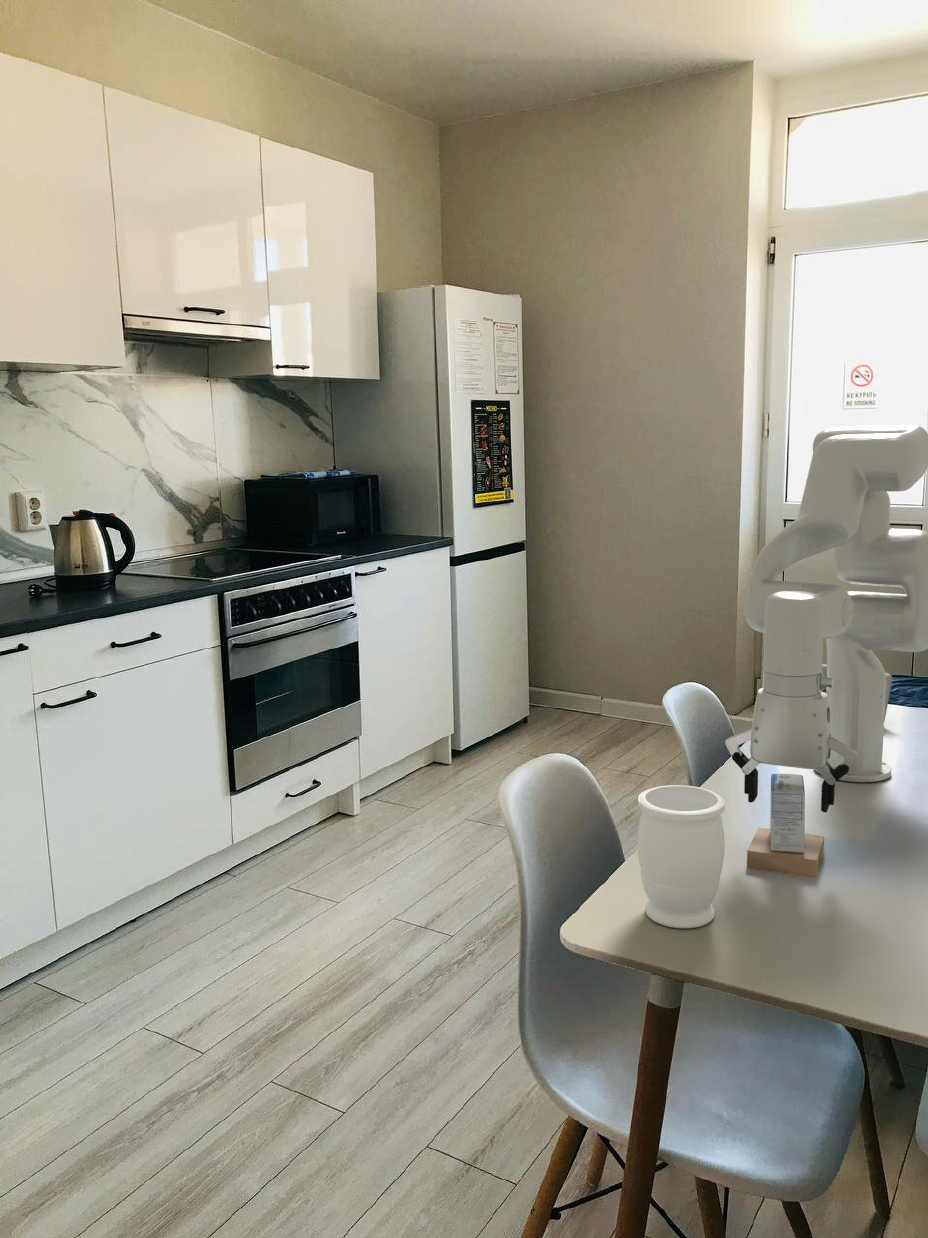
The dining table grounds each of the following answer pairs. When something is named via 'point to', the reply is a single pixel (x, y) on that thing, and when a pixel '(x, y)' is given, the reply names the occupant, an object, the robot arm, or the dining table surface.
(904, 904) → the dining table surface
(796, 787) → the medicine box
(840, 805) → the dining table surface
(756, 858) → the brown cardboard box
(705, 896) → the jar
